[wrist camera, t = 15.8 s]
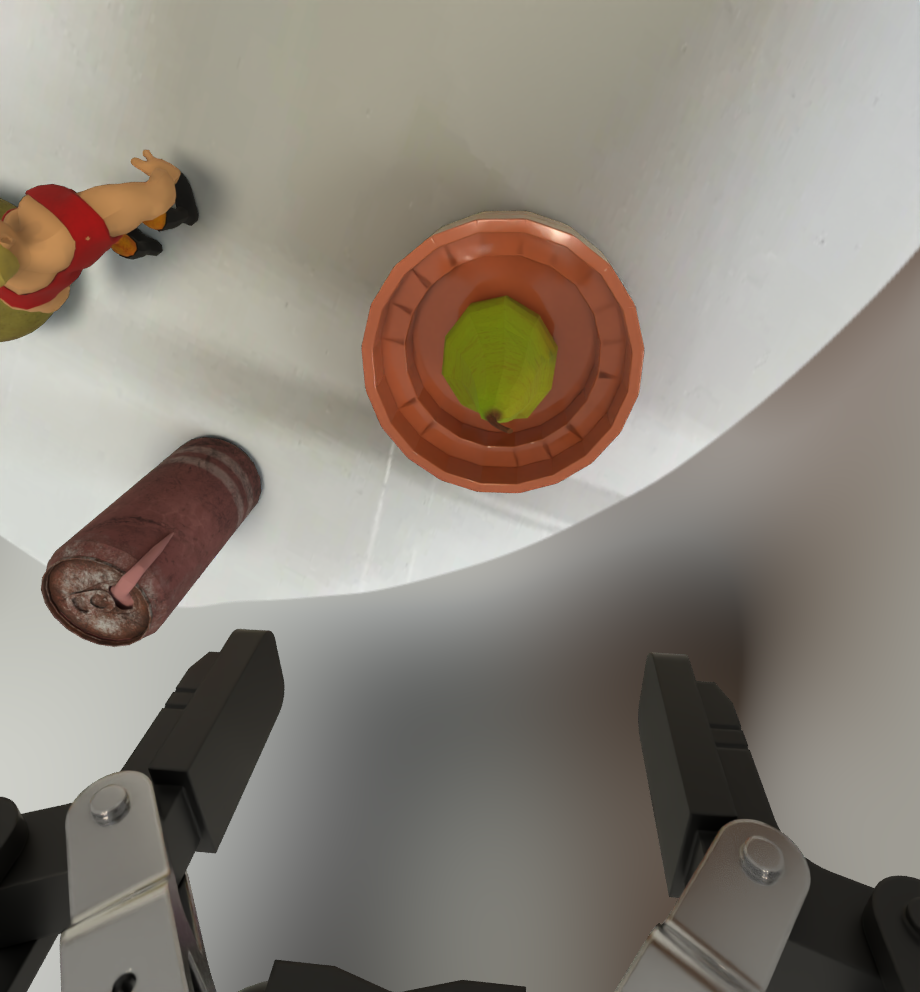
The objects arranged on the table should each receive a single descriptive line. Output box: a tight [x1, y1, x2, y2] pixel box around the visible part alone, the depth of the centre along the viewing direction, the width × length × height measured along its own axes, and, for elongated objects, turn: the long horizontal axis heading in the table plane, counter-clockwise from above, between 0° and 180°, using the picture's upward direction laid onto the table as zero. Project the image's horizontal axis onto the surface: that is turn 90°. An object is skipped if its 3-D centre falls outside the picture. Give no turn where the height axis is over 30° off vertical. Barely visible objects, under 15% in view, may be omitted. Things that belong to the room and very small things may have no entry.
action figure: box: [0, 150, 198, 313], centre depth 28 cm, size 10×4×15 cm, turn 124°
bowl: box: [362, 211, 644, 493], centre depth 34 cm, size 14×14×5 cm
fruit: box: [442, 295, 558, 434], centre depth 30 cm, size 6×6×12 cm
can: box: [41, 437, 261, 647], centre depth 36 cm, size 6×6×14 cm
